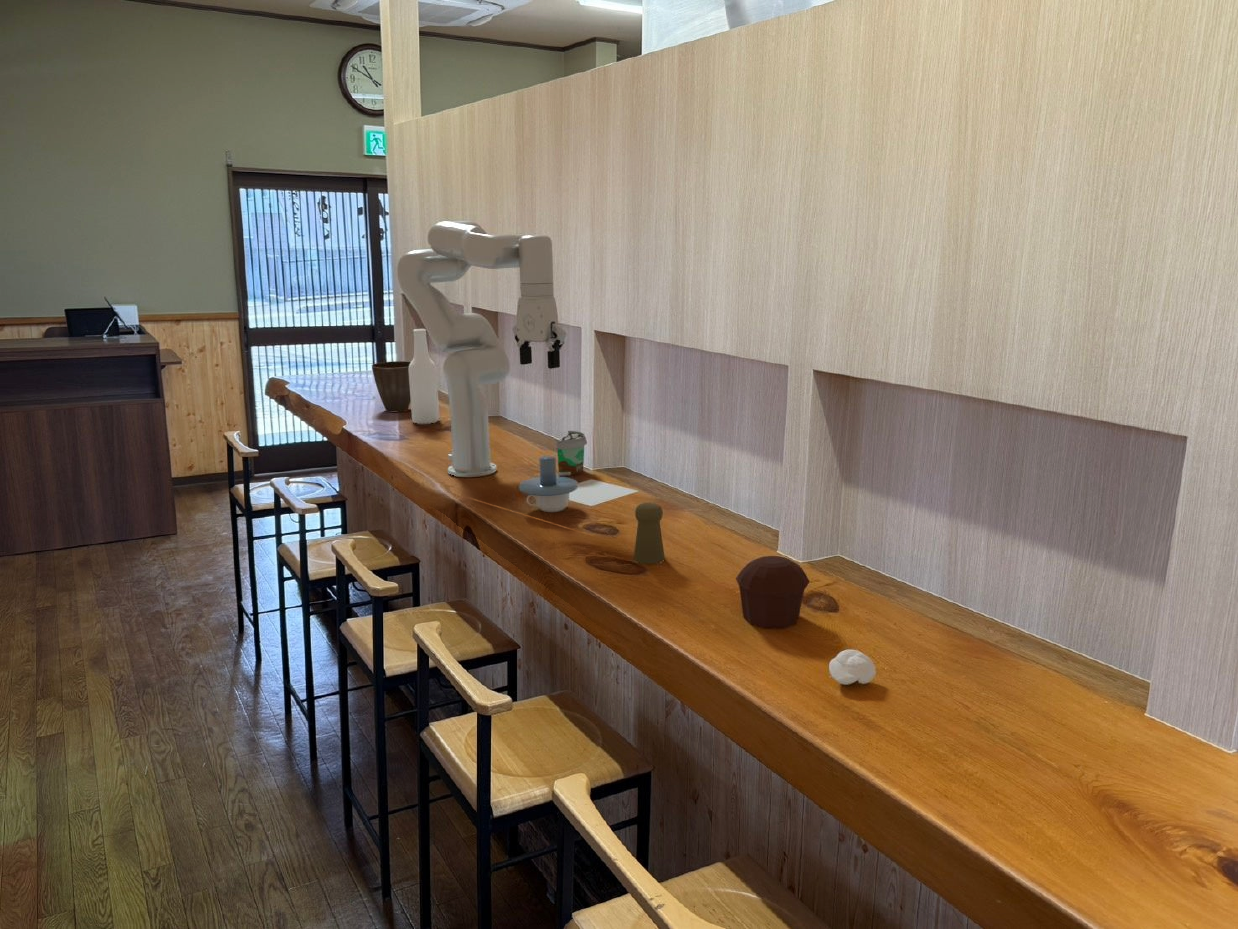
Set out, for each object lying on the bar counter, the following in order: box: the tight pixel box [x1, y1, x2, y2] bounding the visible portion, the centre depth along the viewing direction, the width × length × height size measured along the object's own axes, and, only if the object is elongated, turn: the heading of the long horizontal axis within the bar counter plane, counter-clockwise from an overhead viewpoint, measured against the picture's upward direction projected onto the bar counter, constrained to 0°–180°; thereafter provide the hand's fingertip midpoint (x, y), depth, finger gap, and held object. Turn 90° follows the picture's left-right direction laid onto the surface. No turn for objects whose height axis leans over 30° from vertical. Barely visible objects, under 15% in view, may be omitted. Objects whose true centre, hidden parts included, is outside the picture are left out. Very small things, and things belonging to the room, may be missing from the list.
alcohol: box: [408, 328, 440, 425], centre depth 303 cm, size 9×9×30 cm
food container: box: [556, 430, 588, 478], centre depth 240 cm, size 12×6×10 cm, turn 168°
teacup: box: [526, 493, 570, 513], centre depth 211 cm, size 10×8×5 cm
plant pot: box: [371, 360, 411, 412], centre depth 325 cm, size 15×15×16 cm
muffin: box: [735, 555, 810, 630], centre depth 152 cm, size 12×11×10 cm
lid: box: [518, 455, 579, 496], centre depth 209 cm, size 13×13×7 cm
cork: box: [633, 502, 666, 565], centre depth 179 cm, size 6×6×11 cm
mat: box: [569, 478, 640, 507], centre depth 224 cm, size 16×16×1 cm
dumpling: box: [828, 649, 877, 686], centre depth 131 cm, size 7×5×4 cm
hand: (539, 365), depth 219 cm, fingers open, 9 cm apart
